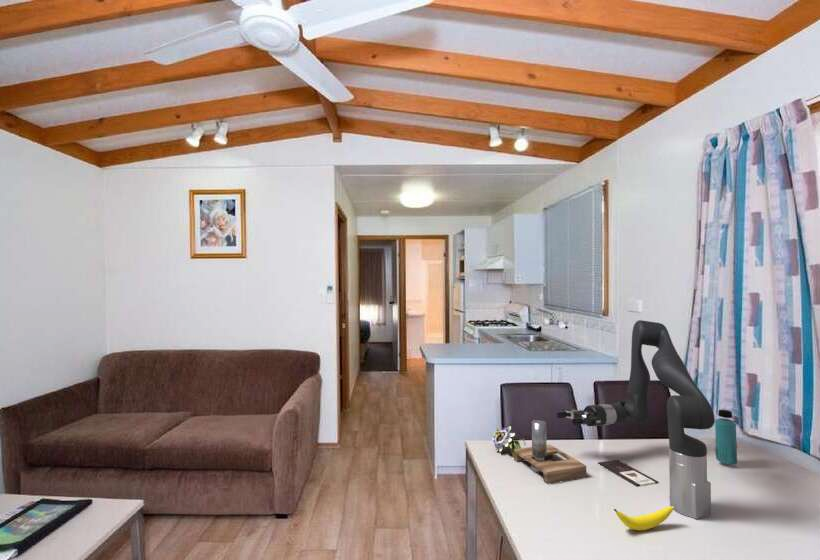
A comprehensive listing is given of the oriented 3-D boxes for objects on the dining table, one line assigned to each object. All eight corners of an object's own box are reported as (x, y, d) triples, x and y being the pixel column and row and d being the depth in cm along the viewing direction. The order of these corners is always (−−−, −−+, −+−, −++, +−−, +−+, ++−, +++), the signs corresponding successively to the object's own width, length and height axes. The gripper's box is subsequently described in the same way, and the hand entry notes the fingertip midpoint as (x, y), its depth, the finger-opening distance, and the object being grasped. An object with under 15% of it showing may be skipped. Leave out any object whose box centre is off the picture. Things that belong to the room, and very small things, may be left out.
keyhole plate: (586, 477, 141) (586, 465, 141) (547, 484, 136) (547, 472, 136) (549, 454, 160) (549, 444, 160) (514, 460, 155) (514, 449, 155)
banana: (678, 527, 112) (678, 504, 112) (618, 536, 108) (618, 512, 108) (670, 521, 115) (669, 498, 115) (610, 529, 111) (610, 506, 111)
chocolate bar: (617, 459, 154) (658, 481, 137) (617, 462, 154) (658, 484, 137) (597, 462, 152) (636, 485, 135) (597, 464, 152) (636, 487, 135)
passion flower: (498, 465, 163) (484, 436, 169) (519, 456, 167) (505, 427, 173) (510, 459, 154) (495, 428, 160) (532, 449, 158) (517, 419, 164)
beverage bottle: (742, 469, 147) (741, 413, 148) (723, 468, 148) (722, 413, 148) (728, 461, 154) (727, 408, 154) (710, 461, 154) (710, 407, 154)
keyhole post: (551, 472, 145) (551, 424, 145) (537, 474, 143) (536, 425, 144) (541, 465, 151) (541, 418, 151) (527, 467, 149) (527, 420, 149)
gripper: (586, 400, 162) (552, 403, 157) (614, 409, 149) (577, 413, 144) (586, 419, 162) (552, 423, 157) (615, 430, 148) (578, 435, 143)
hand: (564, 418), depth 150 cm, fingers open, 8 cm apart
